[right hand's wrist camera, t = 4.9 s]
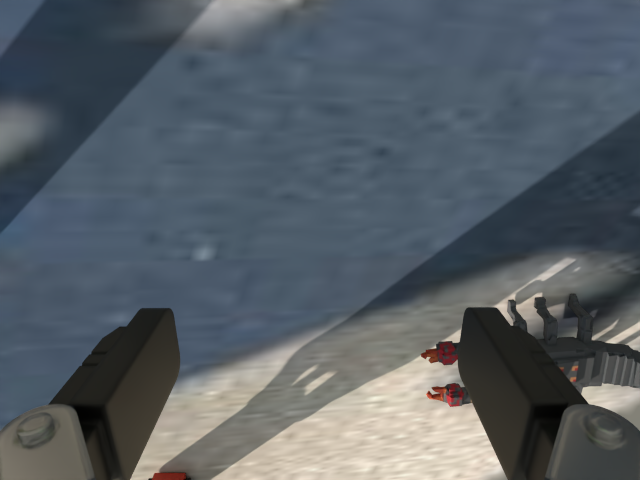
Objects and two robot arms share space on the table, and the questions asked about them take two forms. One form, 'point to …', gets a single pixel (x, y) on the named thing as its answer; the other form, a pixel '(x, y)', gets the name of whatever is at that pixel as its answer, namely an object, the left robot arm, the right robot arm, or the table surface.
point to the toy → (557, 355)
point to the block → (169, 476)
